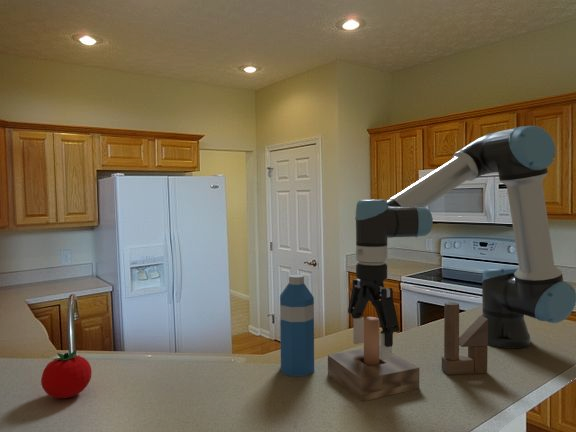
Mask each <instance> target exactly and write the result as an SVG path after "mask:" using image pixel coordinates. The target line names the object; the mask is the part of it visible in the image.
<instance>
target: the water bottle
mask: <svg viewBox="0 0 576 432" xmlns="http://www.w3.org/2000/svg"><path fill="white" fill-rule="evenodd" d="M314 298H315V297H314V296H313V294H312V293H311V291H310V289H309V288H308V287H307V285H306V284H305V276H304V275H303V274H290V275H288V284H287V285H286V286H285V288H284V289H283V291H281V293H280V295H279V311H280V312H279V313H280V314H279V318H280V322H279V326H280V327H279V329H280V372H281V373H282V374H283V375H287V376H290V377H306V376H308V375H310V374H312V373H314V372H315V307H314V306H315V305H314V304H315V300H314Z"/></svg>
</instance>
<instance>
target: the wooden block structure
mask: <svg viewBox="0 0 576 432" xmlns="http://www.w3.org/2000/svg"><path fill="white" fill-rule="evenodd" d="M443 310H444V311H443V312H444V314H443V317H444V318H443V319H444V322H443V323H444V326H443V327H444V329H443V330H444V332H443V335H444V336H443V337H444V338H443V339H444V340H443V341H444V343H443V345H444V346H443V349H444V350H443V356H441V370H442V371H443V372H444V373H445V374H446V375H449V376H450V375H452V376H454V375H467V374H468V375H469V374H471V375H473V374H488V346H489V344H488V319H487V318H485V317H483V316H482V314H481V315H479V316H478V317H477V318H476V319H475V320H474V321H473V322H472V323H471V324H470V326H469V327H468V328H467V329H466V330H465V331H464V332H463V333H462V334H461V335H460V304H459V303H458V302H453V301H448V302H445V303H444V309H443ZM460 347H461V348H467V356H465V355H460Z"/></svg>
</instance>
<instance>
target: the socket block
mask: <svg viewBox="0 0 576 432" xmlns="http://www.w3.org/2000/svg"><path fill="white" fill-rule="evenodd" d="M327 374H328V375H329V376H330V377H331V378H332V379H333V380H335V381H336V382H337V383H338V384H339V385H341V386H342V387H343V388H345V389H346V390H347V392H349V393H350V394H352V395H353V396H354V397H356V398H357V399H358V400H359V401H361V402H367V401H370V400H374V399H378V398H382V397H387V396H391V395H396V394H400V393H404V392H405V393H406V392H410V391H413V390H418V389H420V367H419V366H417V365H415V364H414V363H411V362H410V361H408V360H407V359H405V358H402V357H401V356H399V355H398V354H395V353H394V352H392V359H388V360H381V359H380V345H379V365H374V366H367V365H366V364H364V348H360V349H354V350H348V351H342V352H337V353H330V354H327Z"/></svg>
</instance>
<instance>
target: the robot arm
mask: <svg viewBox="0 0 576 432" xmlns="http://www.w3.org/2000/svg"><path fill="white" fill-rule="evenodd" d="M556 150H557V149H556V144H555V141H554V138H553V137H552V136H551V134H550V133H549V132H548V131H546V130H545V129H544V128H543V127H540V126H537V125H526V126H523V125H522V126H518V127H514V128H509V129H505V130H499V131H494V132H489V133H487V134H485V135H482V136H480V137H479V138H476V139H474V140H473V141H471V142H470V143H469V144H467V145H465V146H464V147H463V148H461V149H459V150H458V151H456V152H454V154H453V155H452V156H451V159H450V160H449V161H447V162H445V163H444V164H442V165H441V166H438V168H436V169H435V170H432V171H431V172H429V173H428V174H427V175H425V176H423V177H421V178H420V179H419V180H417V181H416V182H414V183H412V184H411V185H409V186H407V187H406V188H405V189H403V190H402V191H400V192H398V193H397V194H395V195H393V196H392V197H390V198H389V199H387V200H386V199H360V200H358V201H357V202H356V204H355V205H356V206H355V207H356V208H355V218H354V219H355V238H356V239H355V244H356V245H355V246H356V248H355V253H356V254H355V260H356V261H357V262H356V263H355V277H356V279H352V290H351V293H350V298H349V304H348V308H347V313H348V314H350V315H351V317H352V324H353V325H352V327H353V331H352V332H353V341H352V342H353V344H354V345H358V344H364V318H365V317H364V316H365V315H364V312H365V309H366V308H367V305H368V303H369V302H370V304H371V306H373V307H374V310H375V312H376V314H377V318H379V325H380V326H381V329H382V330H381V331H379V346H380V359H381V360H388V359H392V353H393V345H394V342H393V341H394V339H393V338H394V335H393V334H394V333H397V332H399V331H400V325H399V319H398V316H397V311H396V307H395V302H394V292H393V291H394V290H393V288H392V287H385V284H384V281H385V280H387V278H388V264H387V262H388V238H391V239H392V238H418V237H425V236H427V235H429V234H431V231H432V229H433V224H434V223H433V222H434V221H433V219H434V218H433V215H432V213H431V211H430V209H428V208H427V207H428V206H430V205H431V204H433V203H434V202H436V201H437V200H438V199H440V198H442V197H443V196H445V195H447V194H448V193H450V192H452V191H453V190H454V189H456V188H458V187H459V186H461V185H462V184H464V182H466V181H468V182H469V181H471V182H472V181H473V180H474V181H475V180H476V179H478V178H479V177H481V176H484V175H489V174H493V173H494V174H495V173H498V180H499V182H500V183H502V184H504V185H505V186H506V190H507V197H508V202H509V203H508V205H509V210H510V211H509V212H510V217H511V223H512V231H513V234H514V235H513V237H514V243H515V247H516V249H515V250H516V255H517V262H518V266H517V267H516V266H506V267H505V266H504V267H503V266H502V267H500V266H499V267H488V268H486V269H484V270H483V273H482V279H481V282H482V283H481V286H482V288H481V291H482V292H481V294H482V301H481V302H482V312H481V313H482V314H481V316H483V317H485V318H487V319H488V346H489V345H490V346H494V347H497V348H506V349H524V348H527V347H529V346H530V345H531V336H530V333H529V330H528V326H527V324H526V320H525V316H527V317H530V318H532V319H536V320H538V321H540V322H546V323H551V324H558V323H561V322H562V321H565V320H566V319H567V318H568V317H570V315H571V314H572V312H573V311H574V308H575V306H576V290H575V287H573V286H572V284H570V283H569V282H567V281H564V278H563V277H564V276H563V271H562V269H560V268H559V267H557V266H556V265H555V260H554V253H553V248H552V247H553V246H552V240H551V239H552V238H551V233H550V225H549V220H548V219H549V218H548V213H547V207H546V206H547V205H546V198H545V190H544V186H543V184H544V183H543V180H544V179H545V178H546V177H547V175H548V174H549V172H548V167H550V166H551V165H552V164H553V162H554V160H555V159H554V158H555V157H556V152H557V151H556Z"/></svg>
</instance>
